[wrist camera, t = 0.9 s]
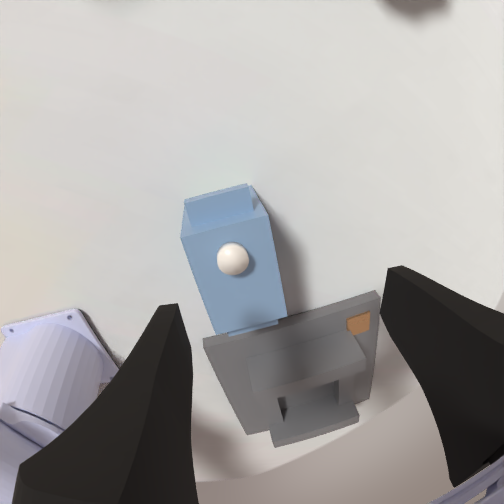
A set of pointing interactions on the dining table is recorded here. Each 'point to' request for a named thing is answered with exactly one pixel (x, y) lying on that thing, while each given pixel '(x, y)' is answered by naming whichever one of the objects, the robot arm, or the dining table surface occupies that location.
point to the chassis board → (300, 370)
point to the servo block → (233, 259)
